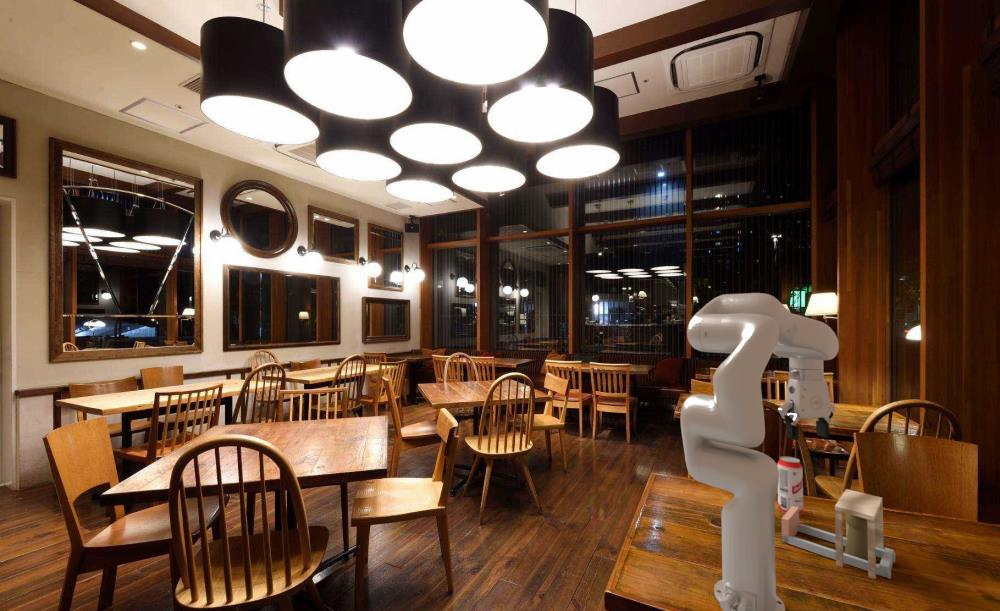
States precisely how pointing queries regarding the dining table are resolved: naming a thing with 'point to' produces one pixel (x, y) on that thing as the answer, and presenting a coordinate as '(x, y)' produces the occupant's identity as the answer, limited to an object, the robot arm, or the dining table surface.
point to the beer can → (790, 484)
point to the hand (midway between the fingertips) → (807, 437)
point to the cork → (857, 537)
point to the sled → (793, 526)
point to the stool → (862, 508)
